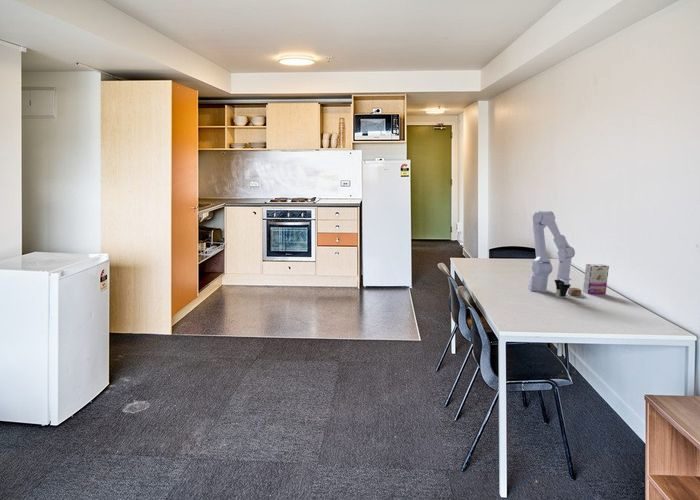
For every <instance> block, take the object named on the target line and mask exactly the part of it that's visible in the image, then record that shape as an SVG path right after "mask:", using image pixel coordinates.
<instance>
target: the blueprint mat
mask: <svg viewBox="0 0 700 500" xmlns="http://www.w3.org/2000/svg"><path fill="white" fill-rule="evenodd" d="M568 291H569V289H568V290H567V293H566V297H568V298H569V297H571V298H578V297H577V296H570V295H569V294H568ZM581 298H583V299H584V298H585V299H588V297H587V296H585V294H583V293H581V297H580V299H581Z"/></svg>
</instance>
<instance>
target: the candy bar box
mask: <svg viewBox="0 0 700 500" xmlns="http://www.w3.org/2000/svg"><path fill="white" fill-rule="evenodd" d="M609 268H610V266H609V265H607V264H603V263H601V264H599V263H598V264H595V263H593V264H591V263H589V264H588V263H587V264H585V272H584V279H583V280H584V282H583V288H582V293H584V294H587V295H606V292H607V285H608V277H609Z"/></svg>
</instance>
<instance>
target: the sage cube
mask: <svg viewBox="0 0 700 500" xmlns="http://www.w3.org/2000/svg"><path fill="white" fill-rule="evenodd" d="M555 290H556V291H555V296H556V297H557V298H560V299H566V298H567V296H566V295H565V297H562V296H560V289H555Z"/></svg>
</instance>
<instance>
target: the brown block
mask: <svg viewBox="0 0 700 500" xmlns="http://www.w3.org/2000/svg"><path fill="white" fill-rule="evenodd" d="M568 290H569V291H568V294H569V295H570V296H577V297H576V298H581V294H582V292H583V289H580V288H577V287H569V289H568Z"/></svg>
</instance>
